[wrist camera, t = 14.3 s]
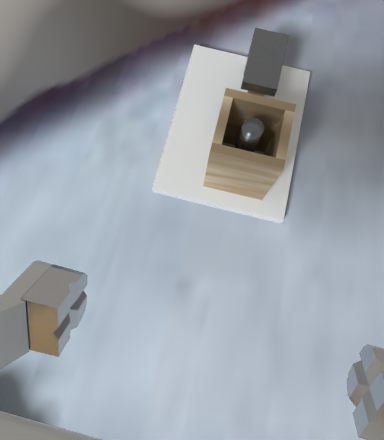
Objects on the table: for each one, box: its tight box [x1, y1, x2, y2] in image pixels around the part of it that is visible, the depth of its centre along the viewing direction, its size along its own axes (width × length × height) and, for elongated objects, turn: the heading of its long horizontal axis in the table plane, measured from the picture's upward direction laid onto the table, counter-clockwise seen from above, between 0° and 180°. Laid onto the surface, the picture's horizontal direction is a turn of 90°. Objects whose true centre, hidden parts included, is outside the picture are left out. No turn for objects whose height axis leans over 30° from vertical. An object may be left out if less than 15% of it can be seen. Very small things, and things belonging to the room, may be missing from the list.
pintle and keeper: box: [235, 28, 289, 152], centre depth 32 cm, size 12×3×8 cm, turn 166°
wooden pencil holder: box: [203, 88, 296, 200], centre depth 30 cm, size 10×5×7 cm, turn 166°
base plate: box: [152, 45, 310, 223], centre depth 35 cm, size 16×12×1 cm
